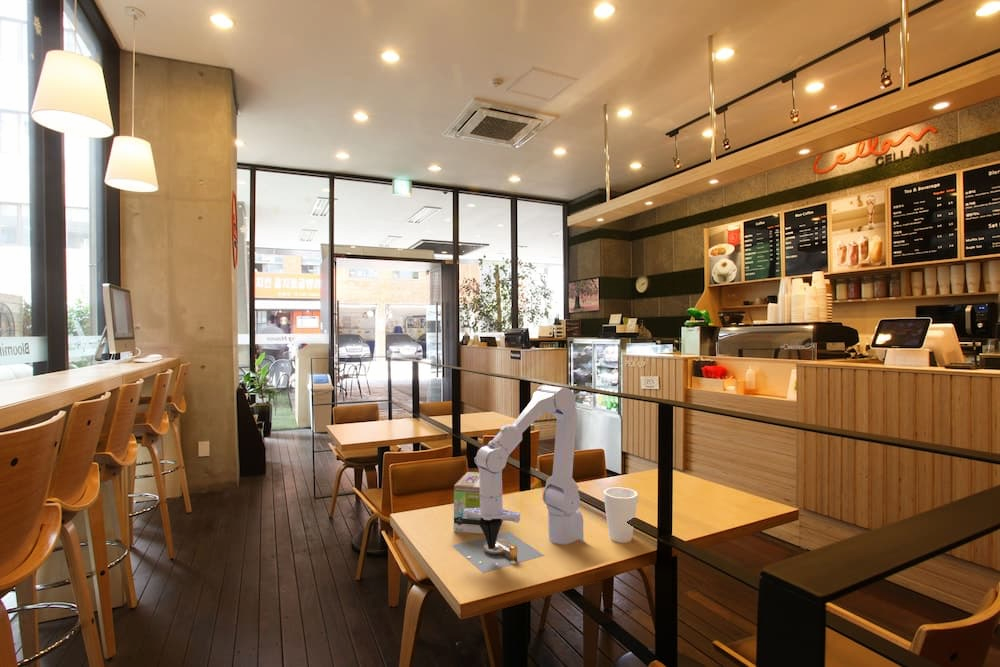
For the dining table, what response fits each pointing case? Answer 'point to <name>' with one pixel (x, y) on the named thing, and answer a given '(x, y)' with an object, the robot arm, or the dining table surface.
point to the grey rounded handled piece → (502, 549)
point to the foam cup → (620, 512)
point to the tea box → (467, 503)
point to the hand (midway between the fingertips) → (492, 547)
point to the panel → (492, 562)
